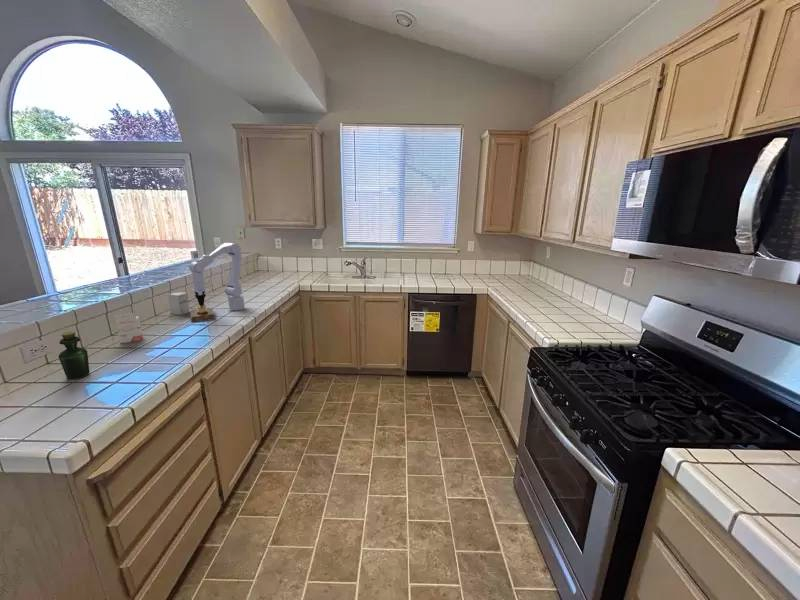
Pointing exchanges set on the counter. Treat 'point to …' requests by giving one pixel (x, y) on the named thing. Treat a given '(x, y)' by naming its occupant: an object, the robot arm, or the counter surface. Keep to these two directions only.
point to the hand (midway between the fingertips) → (201, 303)
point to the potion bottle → (73, 357)
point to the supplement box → (178, 303)
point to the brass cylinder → (202, 309)
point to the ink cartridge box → (128, 328)
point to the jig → (202, 315)
